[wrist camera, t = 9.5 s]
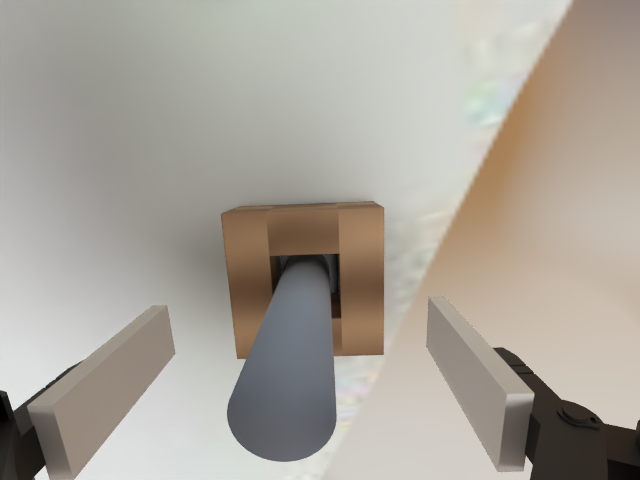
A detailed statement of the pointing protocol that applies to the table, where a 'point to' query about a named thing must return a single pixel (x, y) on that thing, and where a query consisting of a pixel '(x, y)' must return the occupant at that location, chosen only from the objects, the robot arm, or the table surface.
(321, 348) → the blue-grey rounded rod
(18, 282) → the table surface
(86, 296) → the table surface
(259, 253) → the wooden socket block
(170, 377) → the table surface
